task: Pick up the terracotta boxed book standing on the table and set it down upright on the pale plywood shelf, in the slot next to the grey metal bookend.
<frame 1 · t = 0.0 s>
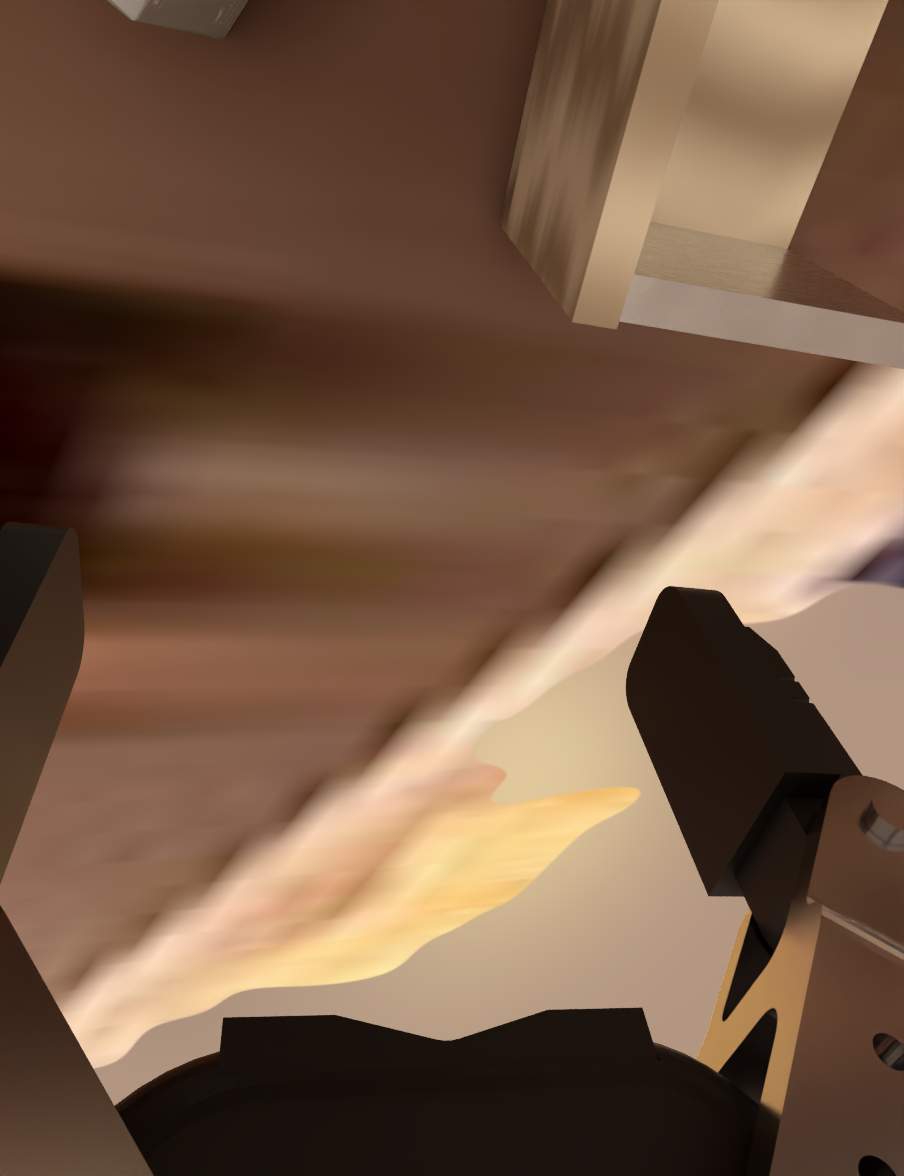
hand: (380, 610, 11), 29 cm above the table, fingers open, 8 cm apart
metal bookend: (654, 235, 37), resting on plywood shelf
plywood shelf: (688, 74, 34), on the table
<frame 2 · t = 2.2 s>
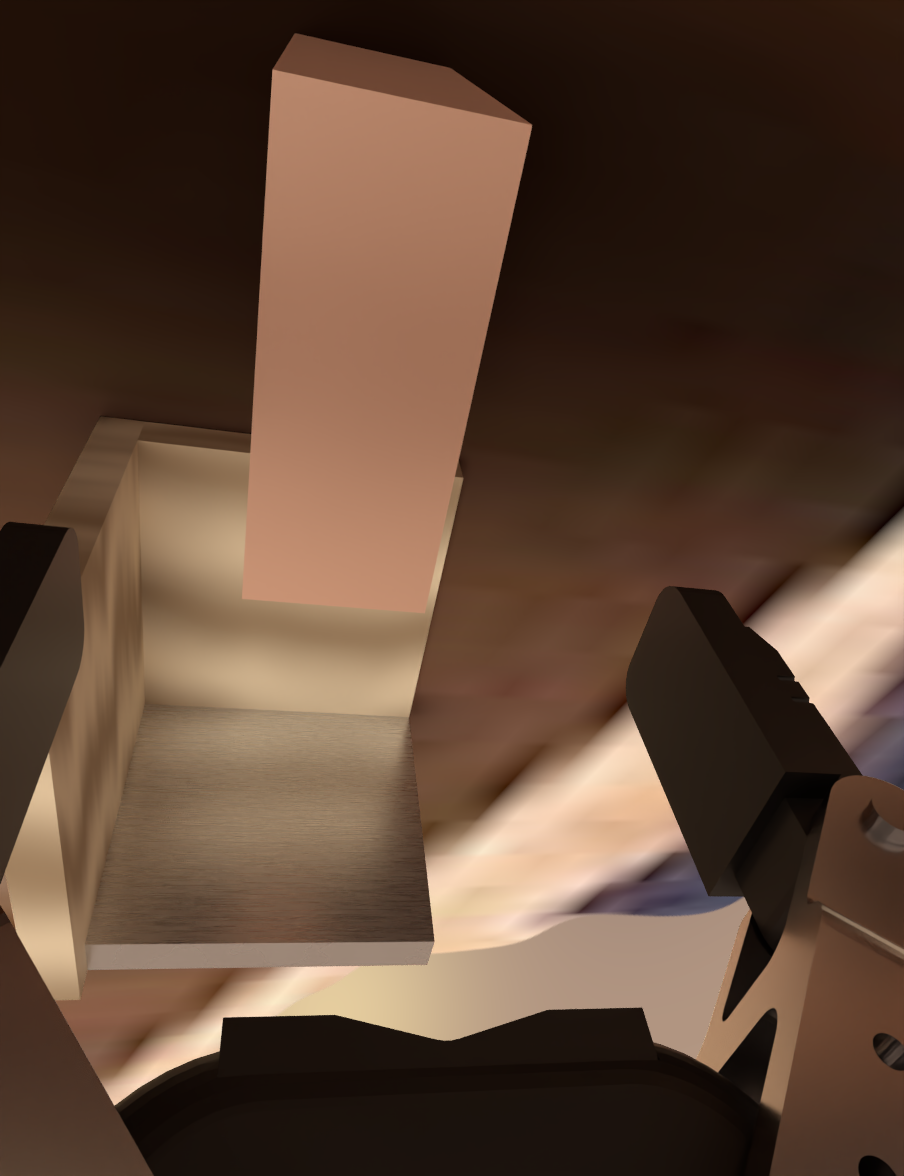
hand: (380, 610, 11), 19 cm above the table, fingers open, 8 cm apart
terracotta book: (350, 248, 27), on the table
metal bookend: (281, 699, 38), resting on plywood shelf
plywood shelf: (274, 590, 34), on the table
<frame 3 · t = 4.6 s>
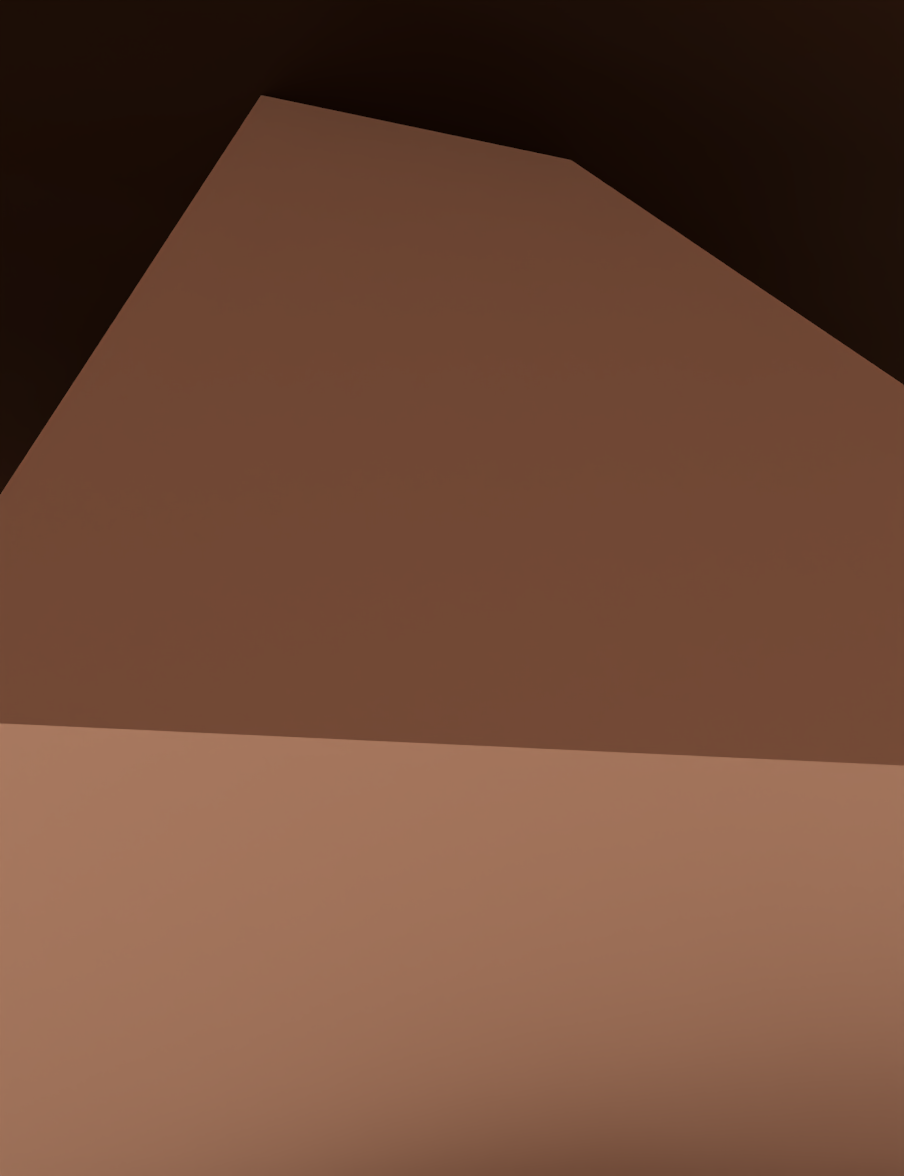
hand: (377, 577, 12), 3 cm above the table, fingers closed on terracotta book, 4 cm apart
terracotta book: (369, 470, 15), on the table, touching gripper
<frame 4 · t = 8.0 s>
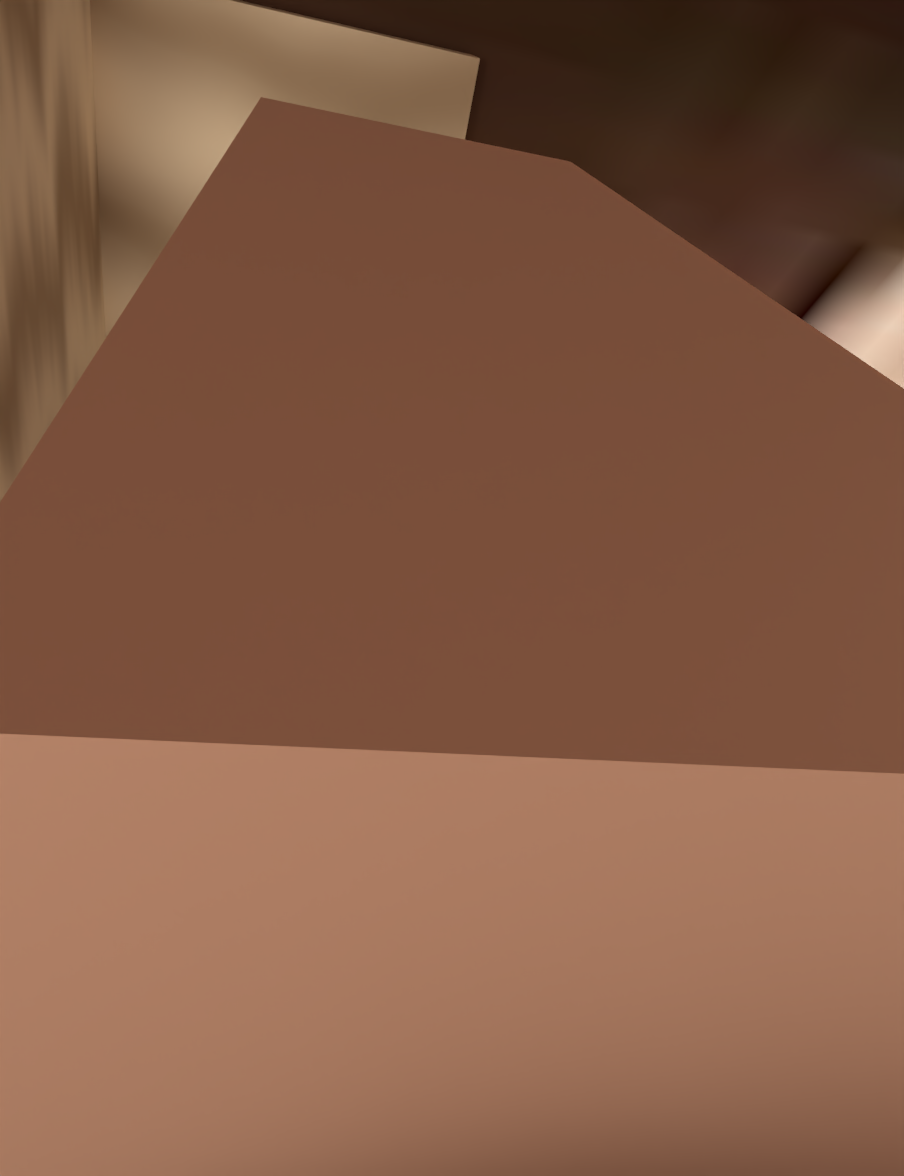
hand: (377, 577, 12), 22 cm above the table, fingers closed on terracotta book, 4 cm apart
terracotta book: (369, 472, 15), point 19 cm above the table, touching gripper
plywood shelf: (257, 241, 29), on the table
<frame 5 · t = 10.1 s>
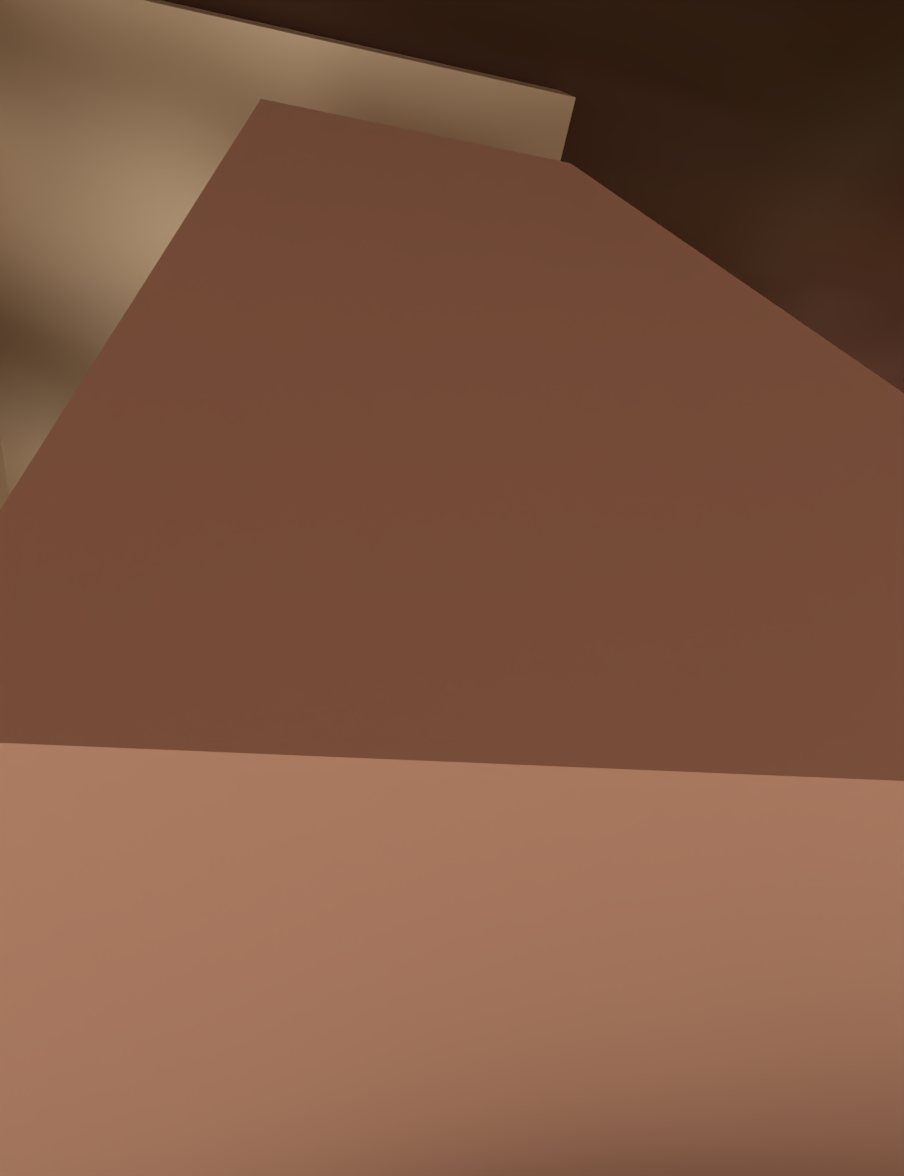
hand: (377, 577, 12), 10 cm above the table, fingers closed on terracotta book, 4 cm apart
terracotta book: (369, 473, 15), point 7 cm above the table, touching gripper
plywood shelf: (232, 360, 20), on the table
when the fingers open (7 cm above the table, at t = 11.7 s): terracotta book drops 2 cm, resting on plywood shelf.
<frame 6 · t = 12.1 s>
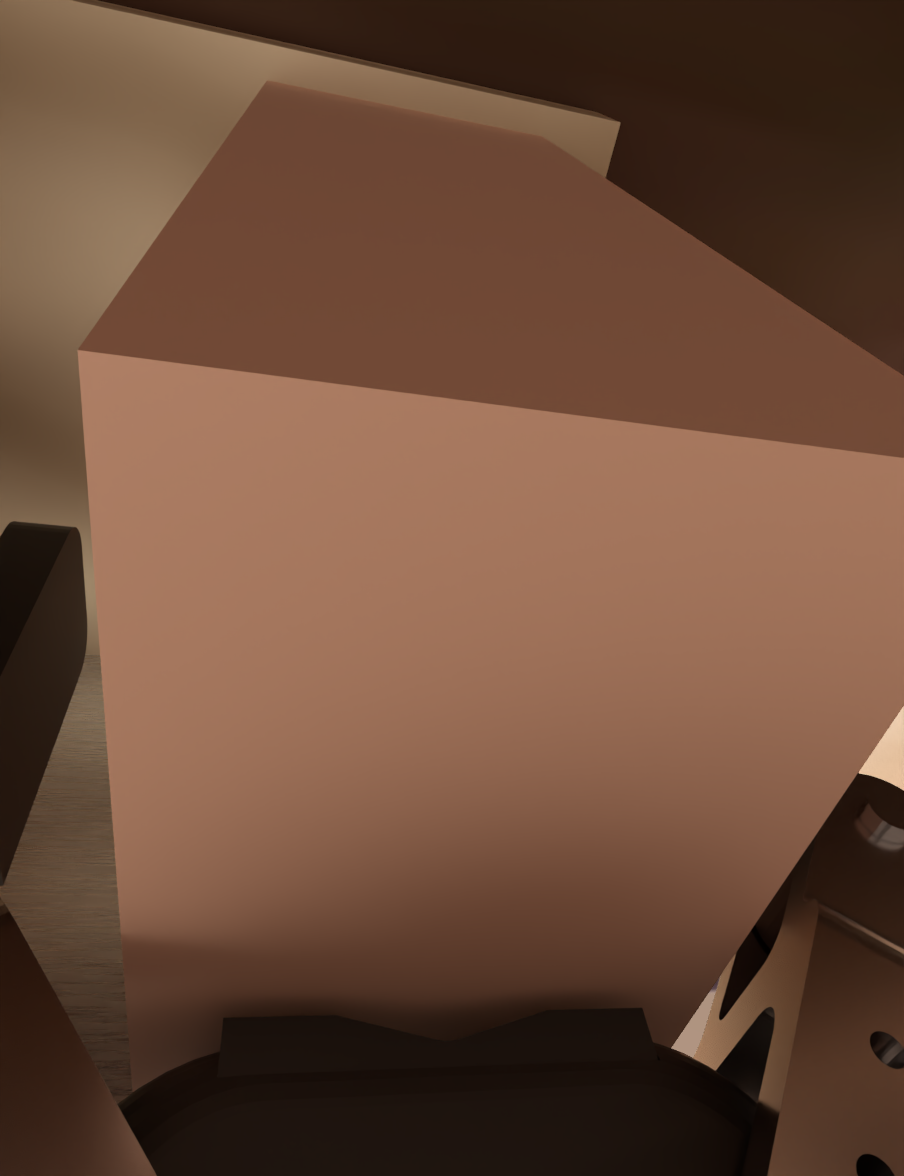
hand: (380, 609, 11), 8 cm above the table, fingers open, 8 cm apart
terracotta book: (366, 423, 16), point 1 cm above the table, touching plywood shelf
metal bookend: (238, 647, 21), resting on plywood shelf
plywood shelf: (215, 420, 17), on the table
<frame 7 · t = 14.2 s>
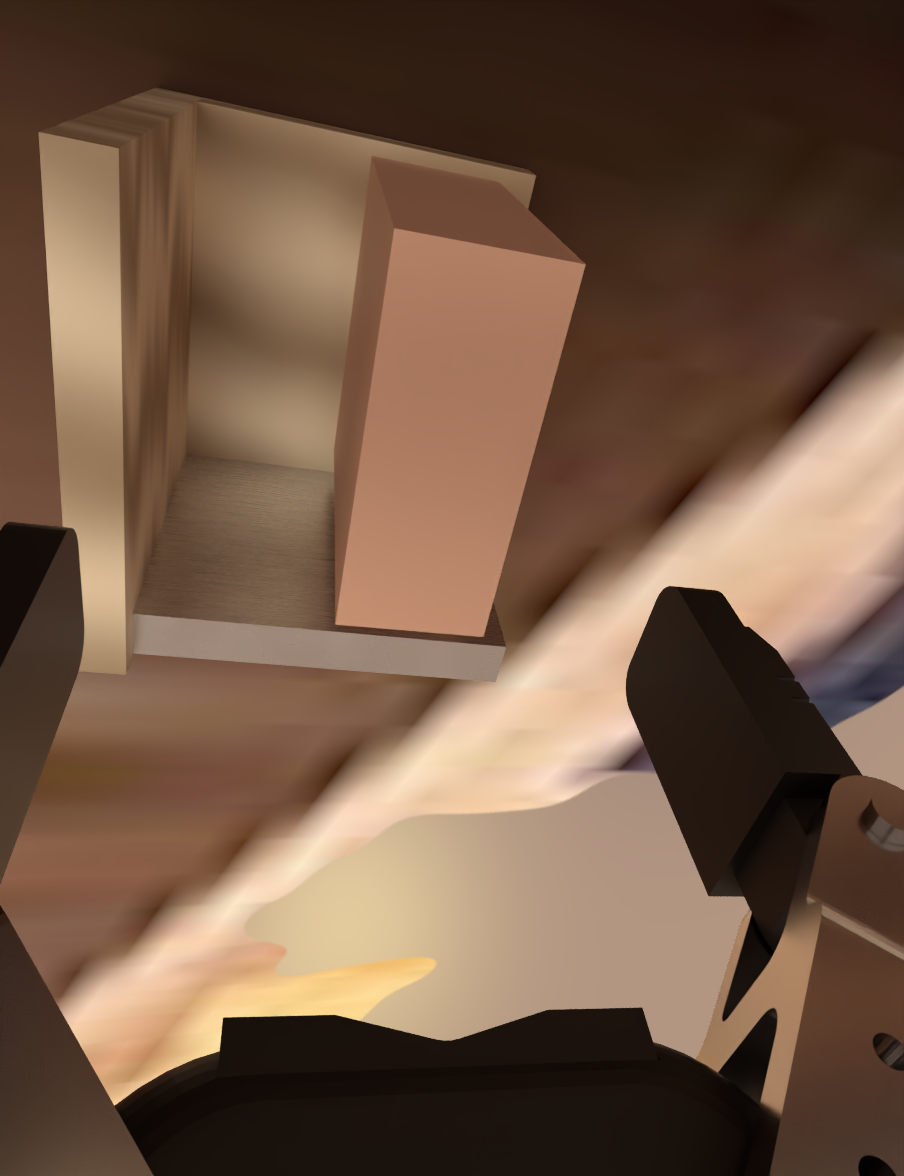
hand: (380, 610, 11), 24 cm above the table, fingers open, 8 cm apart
terracotta book: (409, 326, 31), point 1 cm above the table, touching plywood shelf
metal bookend: (326, 471, 36), resting on plywood shelf
plywood shelf: (327, 328, 32), on the table
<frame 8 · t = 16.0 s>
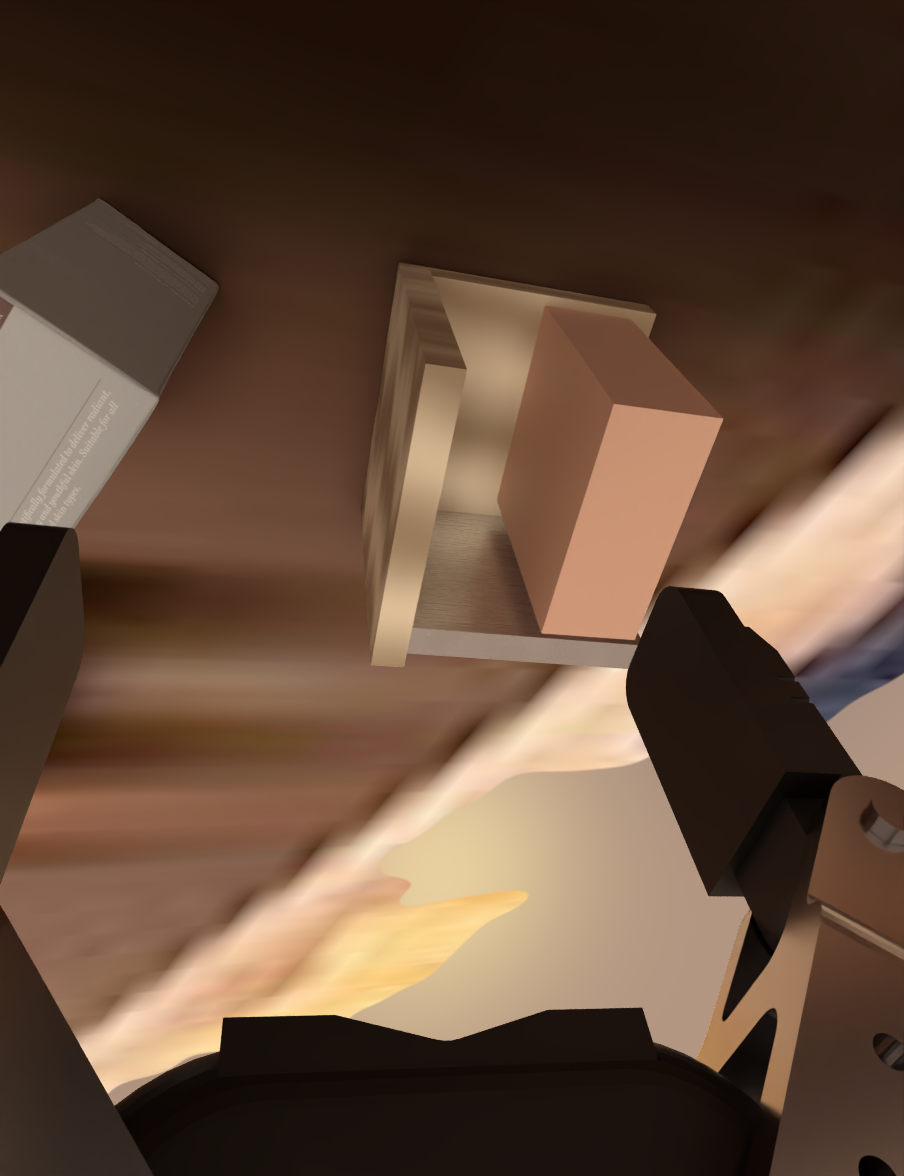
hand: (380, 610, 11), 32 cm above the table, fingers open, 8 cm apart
terracotta book: (559, 414, 44), point 1 cm above the table, touching plywood shelf
skincare box: (117, 300, 39), on the table
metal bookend: (484, 513, 48), resting on plywood shelf
plywood shelf: (495, 413, 45), on the table
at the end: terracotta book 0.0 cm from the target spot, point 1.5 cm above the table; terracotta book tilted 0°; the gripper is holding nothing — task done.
